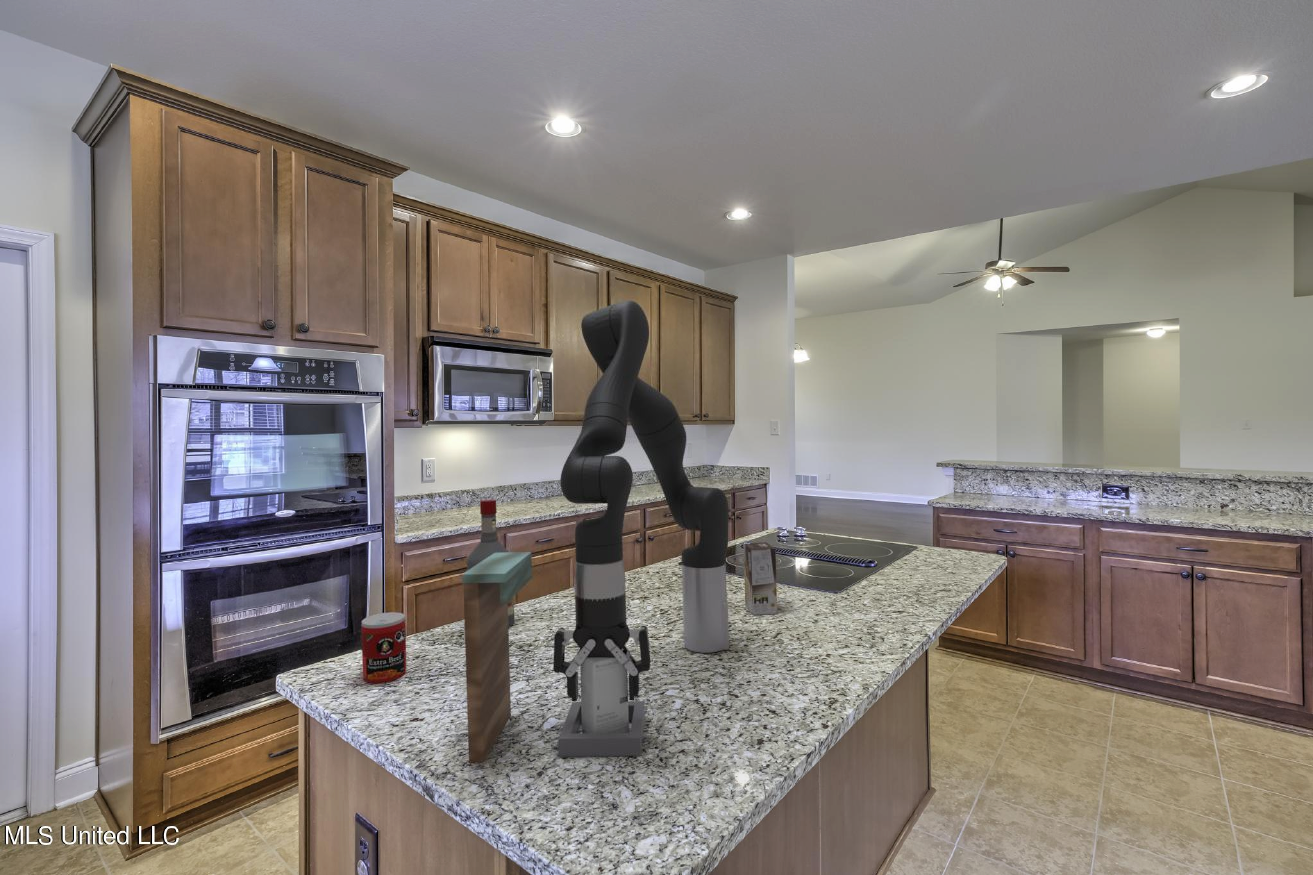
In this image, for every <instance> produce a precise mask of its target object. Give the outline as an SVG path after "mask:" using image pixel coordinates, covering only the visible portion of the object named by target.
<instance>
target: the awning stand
mask: <svg viewBox="0 0 1313 875" xmlns="http://www.w3.org/2000/svg"><path fill="white" fill-rule="evenodd" d="M532 579H533V556H532V551H512V552H510V551H508V552H505V553H494V554H492V555H491V556H489V557H488V558H486V559H485V560H483V561H482V562H480V563H479V564H477V565H475V566H474V567H472V568H471V569H469V570H468V571H467V570H466V571H465V572H464V573H462V574H461V584H462V586H463V611H464V612H463V613H464V614H463V615H464V617H463V618H464V644H465V645H464V646H465V671H466V672H465V677H466V678H465V680H466V708H467V709H466V710H467V711H466V713H467V739H468V740H467V742H468V743H467V745H468V763H469V764H470V763H471V764H472V763H473V764H476V763H477V764H478V763H479V764H480V763H484V762H485V760H486V759H487V757H488V755H489V753H491V752H490V751H491V750H492V748H493V747H494V745H495V743H496V741H497V740H498V738H499V736H500V735H501V732H502V731H503V730H504V729H505V726H506V724H507V722H508V721H509V719H510V717H511V716H512V707H511V706H512V705H511V703H512V702H511V701H512V700H511V670H510V669H511V668H510V667H511V666H510V636H509V635H510V634H509V633H510V632H509V628H508V602H509V601H510V600H511V599H512V598H513V597H514V598H515V596H516V595H517V594H518V593H519V592H520V591H521V590H522V589H523V588H524V587H525V586H526V585H527V584H528V583H529V581H531V580H532Z"/></svg>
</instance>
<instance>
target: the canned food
mask: <svg viewBox="0 0 1313 875" xmlns="http://www.w3.org/2000/svg"><path fill="white" fill-rule="evenodd" d="M405 617H406V616H405V614H404V613H402V612H393V611H391V612H382V613H377V614H373V615H370V616H367V617H365V618H364V619H362V620H361V624H360V626H361V629H360V630H361V632H360V633H361V653H362V654H361V656H362V657H361V658H362V661H361V662H362V676H363V679H364V681H365V682H366V683H370V684H383V683H384V684H385V683H389V682H392V681H396V680H397V679H399V678H401V677H403V676H404V675H405V673H406V670H407V666H408V665H407V640H406V639H407V638H406V637H407V635H406V634H407V632H406V628H407V626H406V618H405Z"/></svg>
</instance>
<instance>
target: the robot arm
mask: <svg viewBox="0 0 1313 875" xmlns="http://www.w3.org/2000/svg"><path fill="white" fill-rule="evenodd" d="M580 328H581V335H582V337H583V340H584V342H585V345H586V348H587V349H588V351H589V354H590V355H591V356H592V359H593V360H594V362H595V363H596V365H597V366H598V369H600V371H601V373H602V375H601V376H600V377H599V379H598V380H597V382H596V383H595V385H594V386H593V388H592V390H591V391H590V394H589V395H588V398H587V400H586V403H585V404H586V405H585V408H584V413H583V414H584V415H583V420H582V424H581V425H582V426H581V431H580V434H579V435H578V438H576V441H575V444H574V446H572V450H570V452H569V455H568V456H567V458H566V460H565V462H564V465H563V466H562V470H561V474H560V484H559V485H560V489H561V492H562V495H563V496H564V498H565V499H566V500H567V501H568V502H570V503H572V504H578V505H580V504H581V505H582V504H583V505H584V504H585V505H586V504H587V505H588V504H589V505H590V504H594V505H595V504H606V505H607V507H606V510H605V513H603V515H601V516H598V517H593V518H589V519H585V520H582V521H580V522H578V523H576V524H577V525H576V526H575V529H574V530H575V531H574V543H575V546H574V548H575V549H574V550H575V551H574V552H575V553H574V554H575V570H574V583H573V591H574V605H575V606H574V607H575V608H574V609H575V610H574V611H575V628H574V630H572V629H566V628H564V627H559V628H558V629H557V630H556V632H555V634H554V637H553V672H554V673H555V674H559V673H561V674H564V675H565V677H566V695H567V697H568V698H571V702H578V698H579V694H580V693H579V671H578V669H579V667H581V664H582V663H583V661H584V660H585V658H586V657H588V658H615V657H616V658H617V660H618V661H619V662H620V663H621V665H623V666H624V667H625V668H626V669H627V673H629V674H628V701H635V697H638V696H639V692H640V674H641V673H642V672H648V671H649V670H650V669H651V668H650V667H651V650H650V639H649V629H648V627H647V625H642V626H640V627H639V628H631V629H630V627H629V626H628V622H627V594H626V571H625V565H624V559H623V558H624V553H623V552H624V549H623V548H624V546H623V544H624V543H623V532H624V531H623V530H624V522H625V521H624V520H625V515H626V509H627V505H628V501H629V498H630V494H631V490H632V486H633V479H634V475H633V469H632V467H631V465H630V463H629V462H628V460H627V459H626V458H624V457H623V456H621V455H620V456H619V455H612V454H615V453H618V452H619V451H621V450H622V449H623V447H624V445H625V443H626V438H627V437H626V436H627V428H628V421H629V423H630V425H631V427H632V430H633V432H634V434H635V436H636V438H637V440H638V441H639V444H640V446H641V447H642V450H643V451H644V453H645V455H646V456H647V458H648V461H649V463H650V465H651V466H652V469H653V472H654V473H655V476H656V478H657V480H658V482H659V485H660V487H661V489H662V492H663V495H664V497H665V501H666V503H667V506H668V509H669V511H670V514H671V517H672V518H673V521H675V523H676V524H677V526H678V527H680V528H681V529H684V530H688V531H695V532H699V541H698V542H697V543H696V544H695V545H692V546H689V547H686V548H685V549H683V550H682V552H681V580H682V587H681V589H682V615H683V617H682V620H683V621H682V622H683V624H682V625H683V646H684V648H685V649H686V650H689V651H692V652H695V653H703V654H704V653H707V654H708V653H715V652H721V651H724V650H725V651H728V650H730V631H729V630H730V629H729V628H730V626H729V625H730V624H729V604H728V599H727V597H728V595H727V594H728V593H727V565H726V564H727V563H726V562H727V560H726V559H727V558H726V557H727V553H728V552H727V551H728V547H729V519H730V518H729V516H730V510H729V501H728V498H727V494H726V493H725V492H724V491H723V490H722V489H721V488H718V487H708V486H707V487H706V486H694V485H693V484H692V483H691V481H690V480H689V478H688V476H687V474H686V471H685V469H684V463H683V462H684V456H685V453H686V446H687V432H686V428H685V426H684V423H683V421H682V419H681V417H680V415H679V413H678V411H677V408H676V406H675V405H674V404H673V401H671V400H670V399H669V398H668V397H667V396H665V395H664V394H663V393H661V391H659V390H657V389H656V388H655V387H653V386H652V385H650V384H648V383H647V382H646V381H644V380H643V379H641V378H640V377H639V373H640V371H641V367H642V365H643V362H644V358H645V355H646V351H647V349H648V344H649V339H650V326H649V322H648V318H647V315H646V312H644V310H643V308H642V307H641V305H640V304H639V303H638V302H636V301H634V300H630V299H629V300H623V301H618V302H616V303H614V304H611V305H608V306H605V307H602V308H599V309H596V310H594V311H591V312H589V313H587V314H585V315H584V316H583V318H582V319H581V327H580ZM630 638H632V639H633V642H634V643H635V644H636V645H639V651H640V652H639V653H640V660H636V659H635V658H634V656H633V655H632V653H631V651H630V650H629V649H628V647H627V646H626V644H627V643H628V641H629V639H630ZM572 639H573V641H574V643H575V644H576V646H577V647H578V648H579V650H578V651H577V652H576V654H575V655H574V657H573V658H572V660H570V662H568V661H565V660H566V659H565V657H566V656H565V655H566V646H568V645H569V643H570V640H572ZM624 653H625V654H624ZM620 656H621V657H620Z"/></svg>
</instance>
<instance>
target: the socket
mask: <svg viewBox="0 0 1313 875" xmlns="http://www.w3.org/2000/svg"><path fill="white" fill-rule="evenodd" d="M645 706H646V705H645V700H628V714H629V722H631V724H630V726H631V727H630V731H629V733H582V732H581V733H578V731H579V728H580V725H581V724H582V715H581V701H571V704H570V706H569V710H568V713H567V715H566V718H565V721H564V723H563V726H562V728H561V731H560V733H559V736H558V739H557V740H558V741H557V743H558V747H557V748H558V757H559V758H562V757H564V758H567V757H568V758H569V757H570V758H572V757H573V758H574V757H583V758H585V757H640V756H642V748H643V738H644V730H645V720H646V708H645Z"/></svg>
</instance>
